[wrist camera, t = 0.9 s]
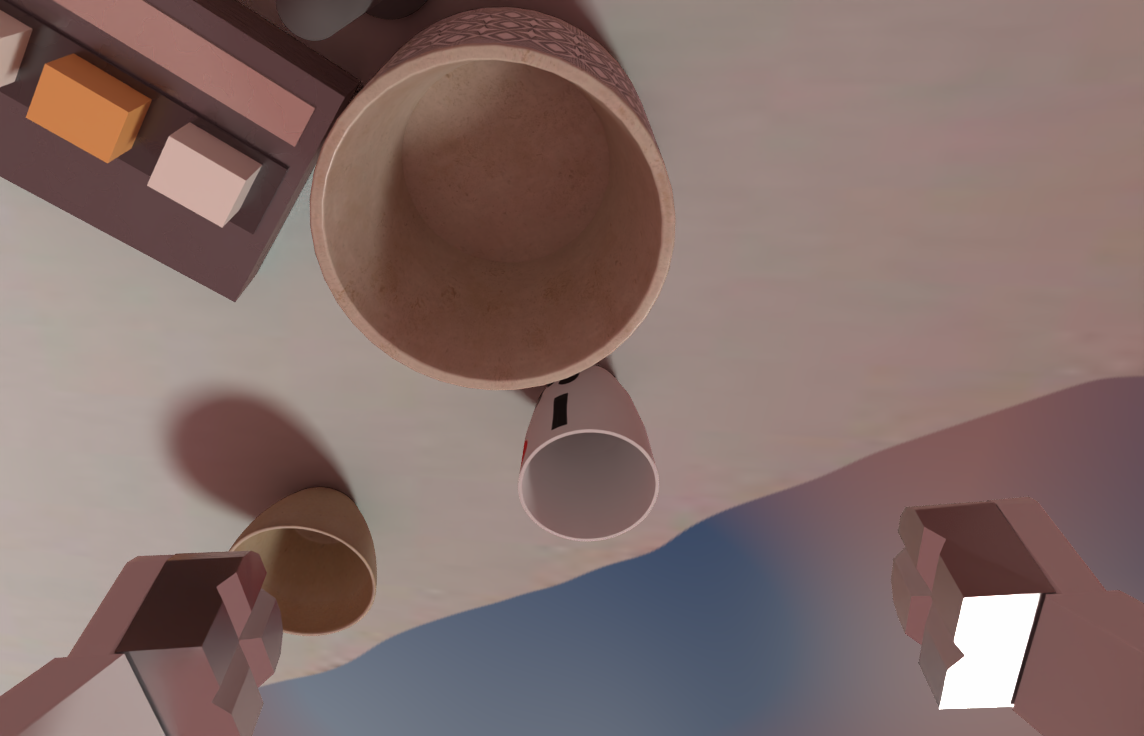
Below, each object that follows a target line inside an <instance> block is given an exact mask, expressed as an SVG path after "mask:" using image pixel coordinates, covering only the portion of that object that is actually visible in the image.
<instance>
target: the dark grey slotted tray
mask: <svg viewBox="0 0 1144 736" xmlns="http://www.w3.org/2000/svg"><path fill="white" fill-rule="evenodd" d="M0 10H1V11H3V12H5V13H6V14H8V15H10V16H12V17H13V18H15V19H17V20H18V21H20V22H22V23H23V24H25V25H27V26H28V27H30V28H32V29H33V30H32V33H31V36H30V38H29V41H28V44H27V47H26V50H25V53H24V56H23V59H22V62H21V64H20V67H19V70H18V73H17V76H16V79H15V82H12V83H10V84H7V85H4V86H2V87H0V176H1V177H3V178H4V179H6V180H8V181H10V182H12V183H14V184H16V185H17V186H19V187H21V188H23V189H25V190H27V191H29V192H31V193H32V194H34V195H36V196H38V197H40V198H42V199H44V200H45V201H47V202H49V203H51V204H53V205H55V206H57V207H59V208H60V209H62V210H64V211H66V212H68V213H70V214H72V215H73V216H75V217H77V218H79V219H81V220H83V221H85V222H86V223H88V224H90V225H92V226H94V227H96V228H98V229H100V230H101V231H103V232H105V233H107V234H109V235H111V236H113V237H114V238H116V239H118V240H120V241H122V242H124V243H126V244H128V245H129V246H131V247H133V248H135V249H137V250H139V251H141V252H142V253H144V254H146V255H148V256H150V257H152V258H154V259H156V260H157V261H159V262H161V263H163V264H165V265H167V266H169V267H170V268H172V269H174V270H176V271H178V272H180V273H182V274H183V275H185V276H187V277H189V278H191V279H193V280H195V281H197V282H198V283H200V284H202V285H204V286H206V287H208V288H210V289H211V290H213V291H215V292H217V293H219V294H221V295H223V296H225V297H226V298H228V299H230V300H232V301H234V302H236V300H237V299H238V298H239V296H240V295H241V294H242V292H243V291H244V290H245V289H246V287H247V286H248V285H249V283H250V282H251V281H252V279H253V278H254V277H255V275H256V274H257V272H258V270H259V269H260V267H261V265H262V263H263V261H264V259H265V257H266V256H267V254H268V252H269V250H270V248H271V246H272V244H273V243H274V241H275V239H276V237H277V235H278V233H279V231H280V230H281V228H282V226H283V224H284V222H285V220H286V219H287V217H288V215H289V213H290V211H291V209H292V207H293V206H294V204H295V202H296V200H297V198H298V196H299V194H300V193H301V191H302V189H303V187H304V185H305V183H306V181H307V180H308V178H309V176H310V174H311V172H312V170H313V168H314V167H315V165H316V163H317V161H318V158H319V155H320V152H321V149H322V146H323V143H324V142H325V140H326V138H327V136H328V134H329V133H330V131H331V129H332V127H333V125H334V124H335V122H336V120H337V118H338V117H339V116H340V115H341V113H342V112H343V111H344V110H345V108H346V107H347V105H348V104H349V102H350V100H351V98H352V96H353V94H354V93H355V91H356V89H357V87H358V85H359V83H360V80H358V79H357V78H355V77H353V76H352V75H350V74H349V73H347V72H346V71H344V70H343V69H341V68H340V67H338V66H336V65H335V64H333V63H332V62H330V61H329V60H327V59H326V58H324V57H323V56H321V55H319V54H318V53H316V52H315V51H313V50H312V49H310V48H309V47H307V46H306V45H304V44H302V43H301V42H299V41H298V40H296V39H295V38H293V37H292V36H290V35H289V34H287V33H285V32H284V31H282V30H281V29H279V28H278V27H276V26H275V25H273V24H272V23H270V22H268V21H267V20H265V19H264V18H262V17H261V16H259V15H258V14H256V13H255V12H253V11H251V10H250V9H248V8H247V7H245V6H244V5H242V4H241V3H239V2H238V1H236V0H0ZM73 53H74V54H76V55H77V56H79V57H81V58H82V59H84V60H86V61H88V62H89V63H91V64H93V65H94V66H96V67H98V68H99V69H101V70H103V71H104V72H106V73H108V74H109V75H111V76H113V77H115V78H116V79H118V80H120V81H121V82H123V83H125V84H126V85H128V86H130V87H131V88H133V89H135V90H136V91H138V92H140V93H142V94H143V95H145V96H147V97H148V98H150V99H152V101H151V104H150V106H149V108H148V111H147V113H146V115H145V118H144V120H143V122H142V125H141V127H140V129H139V132H138V134H137V136H136V139H135V141H134V143H133V146H132V148H131V149H130V150H128V151H127V152H125V153H123V154H122V155H120V156H119V157H117V158H115V159H114V160H112V161H111V162H109V163H106V162H104V161H102V160H101V159H99V158H97V157H95V156H93V155H92V154H90V153H88V152H86V151H84V150H83V149H81V148H79V147H77V146H76V145H74V144H72V143H70V142H68V141H67V140H65V139H63V138H61V137H60V136H58V135H56V134H54V133H52V132H51V131H49V130H47V129H45V128H43V127H42V126H40V125H38V124H36V123H35V122H33V121H31V120H29V119H27V118H26V115H27V112H28V110H29V107H30V104H31V101H32V98H33V96H34V93H35V90H36V87H37V85H38V82H39V79H40V76H41V73H42V71H43V68H44V65H45V63H48V62H51V61H54V60H56V59H59V58H62V57H65V56H68V55H70V54H73ZM189 122H191V123H192V124H194V125H196V126H197V127H199V128H201V129H202V130H204V131H206V132H207V133H209V134H211V135H212V136H214V137H216V138H218V139H219V140H221V141H223V142H224V143H226V144H228V145H229V146H231V147H233V148H234V149H236V150H238V151H239V152H241V153H243V154H245V155H246V156H248V157H250V158H251V159H253V160H255V161H256V162H258V163H260V164H261V165H262V166H261V168H260V170H259V172H258V174H257V176H256V178H255V180H254V182H253V184H252V186H251V188H250V190H249V192H248V194H247V196H246V198H245V200H244V202H243V204H242V206H241V208H240V210H239V211H238V212H237V213H236V214H235V215H234V216H233V217H232V218H231V219H230V220H229V221H228V222H227V223H226V224H225V225H224V226H223V228H222V227H220V226H218V225H216V224H215V223H213V222H211V221H209V220H208V219H206V218H204V217H202V216H200V215H199V214H197V213H195V212H193V211H192V210H190V209H188V208H186V207H184V206H183V205H181V204H179V203H177V202H175V201H174V200H172V199H170V198H168V197H167V196H165V195H163V194H161V193H159V192H158V191H156V190H154V189H152V188H150V187H149V186H147V184H148V182H149V180H150V177H151V175H152V173H153V171H154V168H155V166H156V164H157V162H158V159H159V157H160V155H161V153H162V150H163V148H164V146H165V144H166V141H167V139H168V137H169V136H170V135H171V134H173V133H174V132H176V131H177V130H179V129H180V128H182V127H183V126H185V125H186V124H188V123H189Z"/></svg>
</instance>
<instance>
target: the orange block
mask: <svg viewBox="0 0 1144 736" xmlns="http://www.w3.org/2000/svg"><path fill="white" fill-rule="evenodd" d="M151 101H152V99H150V98H148V97H147V96H145V95H143V94H142V93H140V92H138V91H136V90H135V89H133V88H131V87H130V86H128V85H126V84H125V83H123V82H121V81H120V80H118V79H116V78H115V77H113V76H111V75H109V74H108V73H106V72H104V71H103V70H101V69H99V68H98V67H96V66H94V65H93V64H91V63H89V62H88V61H86V60H84V59H82V58H81V57H79V56H77V55H76V54H74V53H73V54H70V55H68V56H65V57H62V58H59V59H56V60H54V61H51V62H48V63H45V65H44V68H43V71H42V73H41V76H40V79H39V82H38V85H37V87H36V90H35V93H34V96H33V98H32V101H31V104H30V107H29V110H28V112H27V115H26V118H27V119H29V120H31V121H33V122H35V123H36V124H38V125H40V126H42V127H43V128H45V129H47V130H49V131H51V132H52V133H54V134H56V135H58V136H60V137H61V138H63V139H65V140H67V141H68V142H70V143H72V144H74V145H76V146H77V147H79V148H81V149H83V150H84V151H86V152H88V153H90V154H92V155H93V156H95V157H97V158H99V159H101V160H102V161H104V162H106V163H109V162H111V161H112V160H114V159H115V158H117V157H119V156H120V155H122V154H123V153H125V152H127V151H128V150H130V149H131V148H132V146H133V143H134V141H135V139H136V136H137V134H138V132H139V129H140V127H141V125H142V122H143V120H144V118H145V115H146V113H147V111H148V108H149V106H150V104H151Z"/></svg>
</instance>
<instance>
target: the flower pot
mask: <svg viewBox="0 0 1144 736" xmlns="http://www.w3.org/2000/svg"><path fill="white" fill-rule="evenodd" d="M231 551H253V552H256V553H258V554H260V557H261V559H262V562H263V564H264V567H265V569H266V572H267V575H266V577H265V580H264V582H263V585H262V587H261V588H262V589H263V590H265V591H266V592H268V593H269V594H270V595H272V596H273V597H274V598H276V600H277V603H278V606H279V609H280V612H281V619H282V627H283V632H284V633H289V634H294V635H302V636H317V635H318V636H319V635H326V634H331V633H335V632H339V631H342V630H344V629H347V628H349V627H351V626H352V625H354V624H356V623H357V622H358V621H360V620H361V619H362V618H363V617H364V616H365V615H366V614H367V612H368V611H369V609H370V608H371V606H372V604H373V602H374V598H375V594H376V584H377V567H376V556H375V549H374V544H373V540H372V537H371V534H370V531H369V528H368V526H367V523H366V521H365V519H364V517H363V516H362V514H361V512H360V511H359V509H358V508H357V506H356V505H355V504H354V502H353V501H352V500H351V499H350V498H349V497H348V496H346V495H345V494H343V493H342V492H340V491H337V490H334V489H331V488H326V487H313V488H308V489H305V490H302V491H299V492H296V493H294V494H292V495H289V496H287V497H285V498H284V499H282V500H280V501H278V502H277V503H275V504H274V505H272V506H271V507H269V508H268V509H267V510H265V511H264V512H263V513H262V514H261V515H259V516H258V517H257V518H256V519H255V520H254V521H253V522H252V523H251V524H250V525H249V526H248V527H247V528H246V529H245V530H244V531H243V533H242V534H241V535H240V536H239V537H238V539H237V540H236V541H235V543H234V544H233V546H232V547H231V549H230V550H229V552H231Z"/></svg>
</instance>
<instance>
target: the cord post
mask: <svg viewBox="0 0 1144 736" xmlns="http://www.w3.org/2000/svg"><path fill="white" fill-rule="evenodd" d="M425 2H426V0H276V7H277V11H278V13H279V16H280V18H281V20H282V21H283V23H284V24H285V26H286V27H287V28H288V29H289V30H290V31H291V32H292V33H294V34H295V35H297V36H299V37H301V38H303V39H306V40H311V41H319V40H323V39H326V38H329V37H330V36H332V35H333V34H335V33H336V32H338V31H339V30H340V29H342V28H343V27H345V26H346V25H348V24H349V23H351V22H352V21H354V20H355V19H356V18H358V17H359V16H361V15H362V14H364V13H365V12H366V13H368V14H370V15H372V16H375V17H378V18H383V19H398V18H402V17H406V16H408V15H410V14H412V13H413V12H415V11H416V10H417V9H419V8H420V7H421V6H422V5H423V4H424V3H425Z"/></svg>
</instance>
